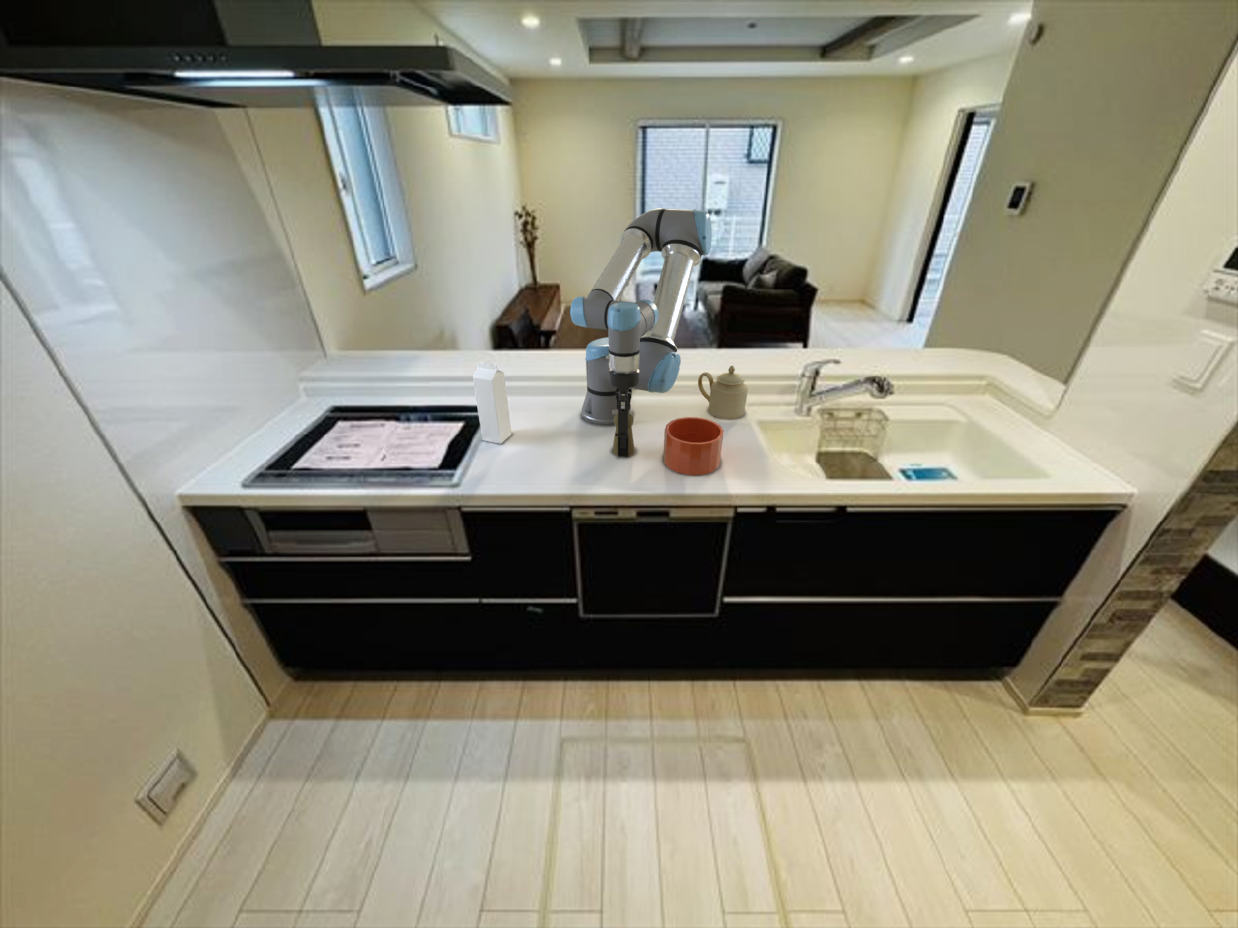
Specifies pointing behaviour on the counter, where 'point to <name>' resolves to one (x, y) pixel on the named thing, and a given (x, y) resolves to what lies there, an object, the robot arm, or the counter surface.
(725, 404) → the beige ceramic rounded vessel
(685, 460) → the pot
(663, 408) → the counter surface
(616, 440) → the cork
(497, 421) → the milk
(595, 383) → the robot arm
